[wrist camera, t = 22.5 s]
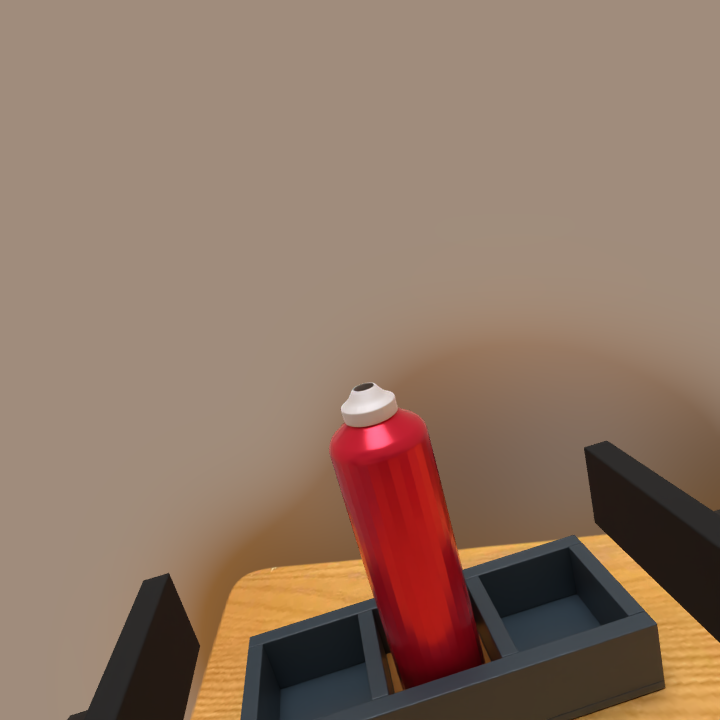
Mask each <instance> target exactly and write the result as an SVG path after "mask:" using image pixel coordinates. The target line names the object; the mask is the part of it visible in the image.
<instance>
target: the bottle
mask: <svg viewBox="0 0 720 720" xmlns="http://www.w3.org/2000/svg"><path fill="white" fill-rule="evenodd" d="M341 412H342V415H343V419H344V424H343V425H342V426H341V427H340V428H339V429H338V430H337V431H336V433H335V434H334V435H333V437H332V439H331V441H330V447H329V454H330V457H331V460H332V464H333V467H334V470H335V473H336V476H337V480H338V483H339V486H340V489H341V493H342V496H343V499H344V502H345V505H346V509H347V512H348V515H349V518H350V522H351V525H352V528H353V531H354V534H355V538H356V541H357V544H358V548H359V550H360V554H361V557H362V560H363V564H364V567H365V570H366V573H367V577H368V580H369V583H370V586H371V590H372V593H373V596H374V599H375V602H376V606H377V609H378V612H379V615H380V619H381V622H382V625H383V628H384V632H385V635H386V638H387V641H388V644H389V648H390V651H391V654H392V657H393V661H394V664H395V667H396V670H397V674H398V677H399V680H400V683H401V686H402V690H406V689H409V688H412V687H415V686H419V685H422V684H425V683H428V682H431V681H434V680H437V679H440V678H443V677H446V676H449V675H452V674H455V673H458V672H461V671H464V670H467V669H470V668H473V667H477V666H480V665H483V664H486V663H485V658H484V654H483V650H482V646H481V642H480V638H479V634H478V630H477V626H476V622H475V618H474V614H473V610H472V606H471V602H470V598H469V594H468V590H467V586H466V582H465V578H464V574H463V570H462V566H461V562H460V558H459V554H458V550H457V546H456V542H455V537H454V534H453V529H452V526H451V521H450V517H449V513H448V509H447V505H446V501H445V497H444V493H443V489H442V485H441V481H440V477H439V474H438V469H437V465H436V461H435V457H434V453H433V449H432V445H431V441H430V437H429V433H428V429H427V426H426V424H425V422H424V420H423V419H422V418H421V417H420V416H418V415H417V414H416V413H414V412H411V411H408V410H405V409H402V408H398V406H397V403H396V399H395V395H394V394H393V393H392V392H390V391H386V390H383V389H381V388H380V387H379V386H377V385H376V384H375V383H363V384H360V385H358V386H356V387H354V388H353V389H352V391H351V394H350V396H349V399H348V400H347V401H346V402H345V403H344V404H343V405H342V407H341Z"/></svg>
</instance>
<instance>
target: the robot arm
mask: <svg viewBox="0 0 720 720" xmlns="http://www.w3.org/2000/svg"><path fill="white" fill-rule="evenodd" d="M584 451H585V458H586V465H587V472H588V478H589V485H590V492H591V499H592V505H593V512H594V519H595V523H596V524H597V525H598V526H599V527H600V528H601V529H602V530H603V531H604V532H605V533H606V534H607V535H608V536H609V537H610V538H612V539H613V540H614V541H615V542H616V543H617V544H618V545H619V546H620V547H621V548H622V549H623V550H624V551H625V552H626V553H627V554H628V555H629V556H630V557H631V558H632V559H633V560H634V561H635V562H636V563H637V564H639V565H640V566H641V567H642V568H643V569H644V570H645V571H646V572H647V573H648V574H649V575H650V576H651V577H652V578H653V579H654V580H655V581H656V582H657V583H658V584H659V585H660V586H661V587H662V588H663V589H665V590H666V591H667V592H668V593H669V594H670V595H671V596H672V597H673V598H674V599H675V600H676V601H677V602H678V603H679V604H680V605H681V606H682V607H683V608H684V609H685V610H686V611H687V612H688V613H689V614H690V615H692V616H693V617H694V618H695V619H696V620H697V621H698V622H699V623H700V624H701V625H702V626H703V627H704V628H705V629H706V630H707V631H708V632H709V633H710V634H711V635H712V636H713V637H714V638H715V639H716V640H717V641H719V642H720V510H717V511H712V510H710V509H709V508H707V507H706V506H704V505H703V504H702V503H700V502H699V501H697V500H696V499H694V498H693V497H691V496H689V495H688V494H686V493H685V492H684V491H682V490H680V489H679V488H677V487H676V486H674V485H673V484H671V483H670V482H668V481H667V480H665V479H664V478H662V477H661V476H659V475H658V474H656V473H655V472H653V471H652V470H650V469H649V468H647V467H646V466H644V465H643V464H641V463H640V462H638V461H637V460H635V459H634V458H632V457H631V456H629V455H628V454H626V453H625V452H623V451H622V450H620V449H619V448H617V447H616V446H614V445H613V444H611V443H610V442H608V441H604V442H601V443H598V444H594V445H591V446H588V447H585V448H584ZM199 648H200V645H199V642H198V640H197V638H196V635H195V633H194V631H193V628H192V626H191V624H190V621H189V619H188V617H187V614H186V612H185V610H184V607H183V605H182V602H181V600H180V598H179V596H178V593H177V591H176V588H175V586H174V584H173V581H172V579H171V577H170V574H169V573H167V574H164V575H161V576H158V577H154V578H152V579H148V580H144V581H143V583H142V585H141V588H140V590H139V592H138V595H137V597H136V599H135V602H134V604H133V606H132V609H131V611H130V613H129V616H128V618H127V620H126V623H125V625H124V627H123V630H122V632H121V634H120V637H119V639H118V641H117V644H116V646H115V648H114V651H113V653H112V655H111V658H110V660H109V662H108V665H107V667H106V669H105V671H104V674H103V676H102V678H101V681H100V683H99V685H98V688H97V690H96V692H95V695H94V697H93V699H92V702H91V704H90V706H89V709H88V710H87V711H84V712H80V713H78V714H74V715H71V716H70V717H69V718H68V720H183V719H184V714H185V710H186V705H187V701H188V696H189V692H190V688H191V683H192V679H193V675H194V670H195V666H196V661H197V657H198V652H199Z"/></svg>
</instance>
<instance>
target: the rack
mask: <svg viewBox="0 0 720 720" xmlns="http://www.w3.org/2000/svg"><path fill="white" fill-rule="evenodd" d="M463 574H464V578H465V582H466V586H467V590H468V594H469V598H470V602H471V606H472V610H473V614H474V618H475V622H476V626H477V630H478V634H479V638H480V642H481V646H482V650H483V654H484V658H485V663H486V664H483V665H480V666H477V667H473V668H470V669H467V670H464V671H461V672H458V673H455V674H452V675H449V676H446V677H443V678H440V679H437V680H434V681H431V682H428V683H425V684H422V685H419V686H415V687H412V688H409V689H406V690H402V686H401V683H400V680H399V677H398V674H397V670H396V667H395V664H394V661H393V657H392V654H391V651H390V648H389V644H388V641H387V638H386V635H385V632H384V628H383V625H382V622H381V619H380V615H379V612H378V609H377V606H376V602H375V599H374V598H373V599H369V600H366V601H363V602H360V603H357V604H354V605H350V606H347V607H344V608H341V609H338V610H335V611H332V612H328V613H325V614H322V615H319V616H316V617H313V618H309V619H306V620H303V621H300V622H297V623H294V624H290V625H287V626H284V627H281V628H278V629H275V630H272V631H268V632H265V633H262V634H259V635H256V636H253V637H250V641H249V649H248V658H247V667H246V676H245V684H244V693H243V702H242V711H241V720H571V719H574V718H577V717H580V716H583V715H586V714H589V713H592V712H595V711H598V710H601V709H604V708H607V707H610V706H613V705H616V704H619V703H622V702H625V701H628V700H630V699H633V698H636V697H639V696H642V695H645V694H648V693H651V692H654V691H657V690H660V689H663V688H665V683H664V675H663V667H662V659H661V651H660V643H659V635H658V627H657V623H656V622H655V621H654V620H653V619H652V618H651V617H650V616H649V615H648V614H647V612H645V610H644V609H643V608H642V607H641V606H640V605H639V604H638V603H637V602H636V601H635V599H634V598H633V597H632V596H631V595H630V594H629V593H628V592H627V591H626V590H625V589H624V588H623V586H622V585H621V584H620V583H619V582H618V581H617V580H616V579H615V578H614V577H613V576H612V575H611V574H610V572H609V571H608V570H607V569H606V568H605V567H604V566H603V565H602V564H601V563H600V562H599V561H598V560H597V558H596V557H595V556H594V555H593V554H592V553H591V552H590V551H589V550H588V549H587V548H586V547H585V545H584V544H583V543H581V541H580V540H579V539H578V538H577V537H576V536H575V535H572V536H568V537H565V538H562V539H559V540H556V541H553V542H549V543H546V544H543V545H540V546H537V547H534V548H531V549H527V550H524V551H521V552H518V553H515V554H512V555H508V556H505V557H502V558H499V559H496V560H493V561H489V562H486V563H483V564H480V565H477V566H474V567H471V568H467V569H464V570H463Z"/></svg>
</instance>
